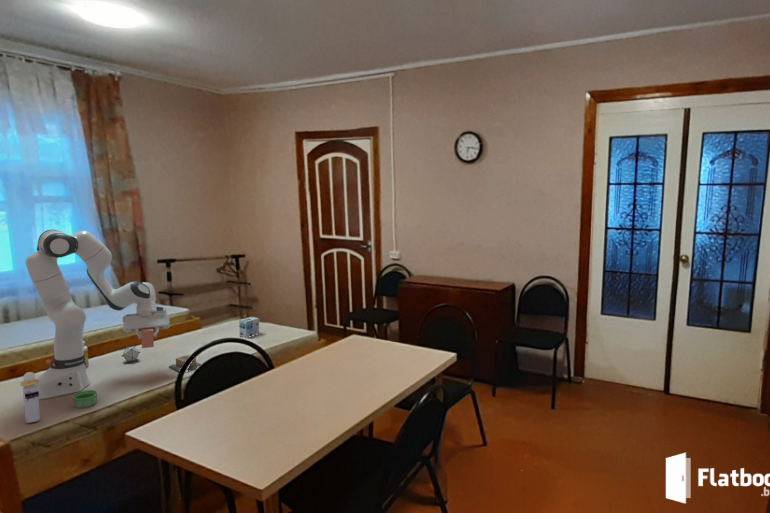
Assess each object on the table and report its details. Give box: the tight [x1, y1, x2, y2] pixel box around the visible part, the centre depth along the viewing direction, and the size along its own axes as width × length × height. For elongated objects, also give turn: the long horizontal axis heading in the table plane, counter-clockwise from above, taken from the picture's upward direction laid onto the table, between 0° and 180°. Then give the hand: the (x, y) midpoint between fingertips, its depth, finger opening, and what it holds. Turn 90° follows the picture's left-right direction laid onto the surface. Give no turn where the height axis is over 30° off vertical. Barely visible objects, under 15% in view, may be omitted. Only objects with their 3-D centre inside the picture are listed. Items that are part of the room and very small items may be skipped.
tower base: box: [168, 354, 202, 373], centre depth 243 cm, size 12×12×5 cm
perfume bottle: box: [19, 371, 41, 424], centre depth 183 cm, size 6×6×20 cm
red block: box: [140, 328, 155, 349], centre depth 227 cm, size 5×5×8 cm
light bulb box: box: [238, 316, 260, 338], centre depth 298 cm, size 11×7×11 cm, turn 147°
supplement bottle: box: [83, 340, 89, 368], centre depth 242 cm, size 7×7×13 cm
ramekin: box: [71, 389, 99, 409], centre depth 200 cm, size 9×9×4 cm
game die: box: [121, 345, 141, 364], centre depth 251 cm, size 9×8×10 cm
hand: (147, 337), depth 227 cm, fingers closed on red block, 5 cm apart
